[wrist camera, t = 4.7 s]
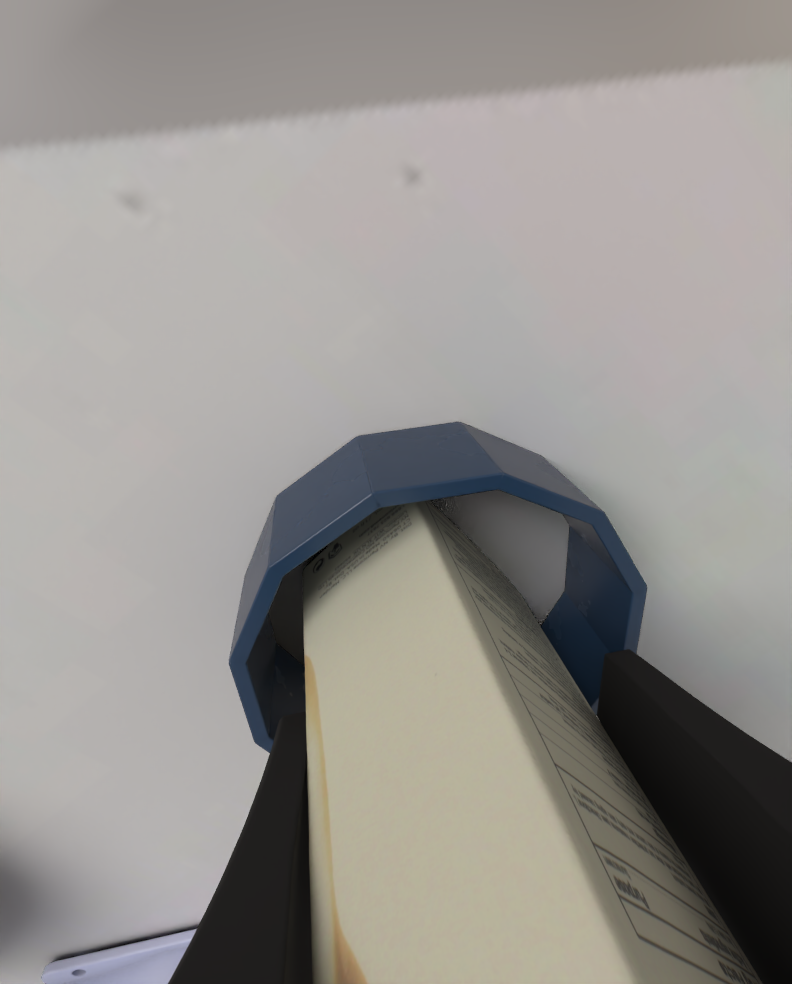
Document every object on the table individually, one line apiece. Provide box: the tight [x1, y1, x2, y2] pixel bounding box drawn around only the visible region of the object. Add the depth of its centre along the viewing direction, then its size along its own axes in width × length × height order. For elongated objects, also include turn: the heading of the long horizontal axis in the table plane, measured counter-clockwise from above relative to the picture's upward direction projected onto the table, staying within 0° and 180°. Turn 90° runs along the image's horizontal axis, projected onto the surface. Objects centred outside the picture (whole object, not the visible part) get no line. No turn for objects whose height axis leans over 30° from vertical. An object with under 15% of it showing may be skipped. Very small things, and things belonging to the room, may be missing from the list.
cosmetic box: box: [303, 500, 763, 984], centre depth 10 cm, size 6×4×12 cm
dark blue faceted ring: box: [229, 422, 647, 753], centre depth 14 cm, size 10×10×4 cm
